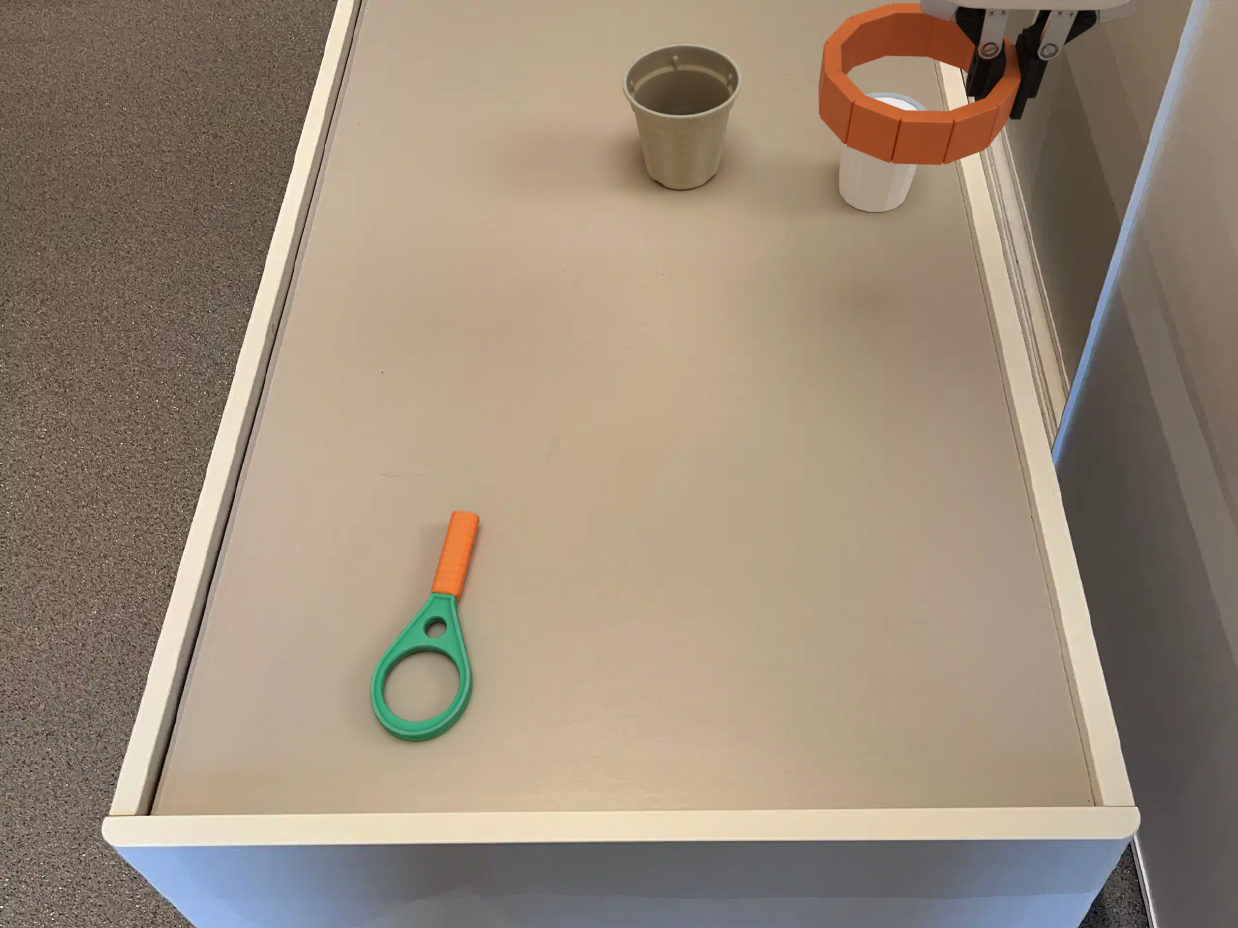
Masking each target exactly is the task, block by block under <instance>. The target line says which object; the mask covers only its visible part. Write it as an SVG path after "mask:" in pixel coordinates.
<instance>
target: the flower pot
mask: <svg viewBox="0 0 1238 928" xmlns="http://www.w3.org/2000/svg"><path fill="white" fill-rule="evenodd" d="M621 80H622V81H621V85H622V91H623V93H624V96H625V98H626V100H627V101H628V102H629V105H630V107H631V110H632V112H633V113H634V115H635V120H636V125H637V129H638V135H639V139H640V143H641V148H642V152H643V153H642V154H643V158H644V164H645V169H646V172H647V174H648V176H649V177H650V179H652V180H653V181H657V182H658V183H660V184H661V185H663V186H664V187H665V188H669V189H673V190H689V189H694V188H698V187H700V186H703V185H705V183H706V182H708V181H709V180H710V179H711V178H712V177H714V176H715V175H716V174H717V173H718V171H719V167H720V161H721V157H722V156H721V155H722V151H723V146H724V141H725V135H726V132H727V126H728V122H729V118H730V117H729V116H730V111H731V110H732V108H733V106H734V104H735V100H736V99H737V97H738V96H739V94H740V93H741V90H742V86H743V74H742V72H741V69H740V67H739V65H738V64H737V62H736V61H735V60H734V58H732V57H731V56H729V55H728V54H726V53H725V52H723V51H721V50H719V49H718V48H714V47H712V46H709V45H706V44H705V45H704V44H700V43H693V42H692V43H691V42H681V43H680V42H679V43H677V42H675V43H670V44H665V45H661V46H657V47H655V48H651V49H649V50H647V51H645V52H643V53H641V54H640V55H638V56H636V58H634V59H633V60H632V61H631V62H630V63H629V64H628V65H627V67H626V68H625V71H624V72H623V74H622V79H621Z"/></svg>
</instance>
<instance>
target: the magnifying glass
mask: <svg viewBox="0 0 1238 928" xmlns="http://www.w3.org/2000/svg"><path fill="white" fill-rule="evenodd" d="M480 519H481V518H480V516H479V514H477V513H475V512H473V511H466V510H453V511H452V513H451V516H450V518H449V522H448V525H447V530H446V534H445V537H444V541H443V545H442V549H441V553H440V556H439V560H438V563H437V568H436V571H435V575H434V578H433V581H432V585H431V589H430V595H429V597H428V599H427V600H426V602H425V603H424V605H423V606H421V608H420V609H419V611H418V612H417V613H416V614H415V616H414V617H413V618H412V619H411V620H410V622H409V623H408V624H406V626H405V628H404V629H402V631H401V632H400V633H399V634H398V636H397V637H396V638H395V639H394V640H393V642H391V644H390V645H389V646H388V647H387V648H386V650H385V651H384V652H383V654H382V655H381V657H380V658H379V660H378V661H377V663H376V665H375V666H374V667H375V668H374V669H373V672H372V676H371V678H370V679H371V680H370V687H369V691H370V692H369V694H370V701H371V706H372V709H373V712H374V714H375V717H376V718H377V720H378V722H379V724H380V726H381V727H383V728H384V729H385V730H386V731H387V732H388V733H389V734H390V735H391V736H393V737H396V738H398V739H400V740H403V741H407V742H425V741H428V740H431V739H434V738H437V737H439V736H440V735H442V734H444V733H445V732H447V731H449V729H451V728H452V727H453V726H454V725H455V724H456V722H457V721H458V720H459V719H460V718H461V716H463V714H464V712H465V710H466V709H467V706H468V704H469V702H470V698H471V695H472V691H473V690H472V689H473V672H472V667H471V663H470V660H469V655H468V651H467V647H466V643H465V638H464V634H463V631H462V626H461V622H460V618H459V615H458V613H459V612H458V602H459V600H460V598H461V595H462V591H463V587H464V585H465V584H464V583H465V579H466V576H467V572H468V568H469V564H470V560H471V555H472V552H473V548H474V544H475V540H476V537H477V533H478V528H479V524H480ZM436 622H437V623H438V622H441V623H444V624H445V627H446V628H445V631H444V633H443V634H442V635H441V636H438V637H429V636H428V634H427V630H428V628H429V626H431V624H434V623H436ZM421 651H435V652H438V653H441V654H443V655H445V656H447V658H449V659H450V660H451V661H452V662H453V663H454V665H455V666H456V668H457V670H458V673H459V674H458V675H459V685H458V690H457V694H456V695H455V697H454V699H453V700H452V702H451V703H450V705H449V706H448V707H447V708H446V709H445V710H444V711H442V712H441V713H440V714H438V715H437V716H434V717H432V718H429V719H425V720H420V721H415V720H414V721H413V720H407V719H404V718H402V717H399V716H397V715H396V714H394V712H392V711H391V710H390V707H388V706H387V704H386V701H385V695H384V690H385V689H384V687H385V683H386V680H387V677H388V675H389V673H390V672H391V671H392V669H393V667H395V665H396V664H397V663H398V662H399V661H400V660H402V659H403V658H405V657H407V656H408V655H410V654H413V653H416V652H421Z"/></svg>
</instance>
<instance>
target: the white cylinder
mask: <svg viewBox="0 0 1238 928" xmlns="http://www.w3.org/2000/svg"><path fill="white" fill-rule="evenodd" d="M865 95H866V96H869V97H871V98H874V99H877V100H879V101H882V102H885V103H887V104H890V105H892V106H895V107H898V108H900V109H903V110H918V111H928V109H926V107H925V106H924V105H923V104H922V102H919V101H917V100H916V99H913V98H912V97H910V96H908V95H904V94H900V93H896V92H892V91H889V92H888V91H887V92H883V91H882V92H879V91H878V92H871V93H867V94H865ZM839 149H840V150H839V171H838V172H839V174H838V175H839V176H838V190H839V195H840V197H842V199H843V200H844V201H845V203H847V204H848V205H849V206H851V207H853V208H855V210H860V211H863V212H866V213H867V212H868V213H884V212H888V211H891V210H895V209H897V208H898V207H899V206H901V205H902V204H903V203H904V202H905V201H906V198H907V196H908V193H909V191H910V188H911V186H912V182H913V180H914V177H915V174H916V171H917V169H918V166H919V164H893V163H892V161H891V162H890V163H888V162H885V161H883V160H880V159H878V158H875V157H873V156H870V155H868V154H865V153H863V152H860V151H858V150H855V149H853V148H850V147H848V146H847V144H843V143H842V141H841V140H840V148H839Z"/></svg>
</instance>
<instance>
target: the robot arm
mask: <svg viewBox="0 0 1238 928" xmlns="http://www.w3.org/2000/svg"><path fill="white" fill-rule="evenodd" d="M919 4H920V8H921V11H922V12H923V13H924V14H927V15H930V16H933V17H936V18H939V19H942V20H945V21H948V22H949V21H952V22H955V23H957V25H958V27H959V28H960V29H961V30H962V31H963V32H964V34H965V35H966V36H967V37H968V38H969V39H970V40H971V42H972V43H973V44H974V45H975V49H974V52H973V56H972V60H971V63H970V67H969V71H968V74H967V73H966V78H965V93H966V94H965V95H966V97H968V98H973V100H974V101H973V102H976V101H979V100H981V99H984V98H986V97H987V96H988V94H989V93H990V92H991V90H992V89H993V88H994V87H995V85H996V84H997V83H998V82H999V80H1000V79H1001V78H1002V77H1003V75H1004V72H1005V68H1006V63H1007V60H1006V55H1005V49H1004V47H1005V41H1004V36H1005V33H1006V30H1007V29H1006V28H1007V24H1008V19H1009V14H1010V10H1018V11H1019V10H1022V11H1023V10H1027V11H1028V10H1029V11H1030V10H1032V11H1035V13H1034V15H1033V17H1032V19H1031V20H1032V21H1031V25H1030V26H1029V27H1027V28H1026V27H1025V28H1024V27H1023V28H1022V30H1021V33H1018V35H1017V38H1016V41H1015V44H1014V45H1015V48H1016V53H1017V58H1018V64H1019V69H1020V74H1021V78H1020V79H1021V81H1020V84H1019V87H1018V90H1017V93H1016V97H1015V100H1014V103H1013V106H1012V109H1011V112H1010V115H1009V119H1010V120H1015V121H1020V120H1022V116H1023V114H1024V110H1025V108H1026V105H1027V102H1028V99H1036V97H1037V95H1038V92H1039V89H1040V87H1041V84H1042V81H1043V78H1044V75H1045V72H1046V70H1047V66H1048V63H1049V61H1051V60H1054V59H1056V58H1057V57H1058V56H1059V55H1060V54H1061V51H1062V49H1063V47H1064V46H1065V45H1067V44H1068V43H1070V42H1072V41H1073V40H1075V39H1076V38H1077V37H1079V36H1081V35H1082V34H1084V33H1085V32H1087V31H1088V30H1090V29H1091V28H1093V27H1094V26H1095V25H1096V24H1099V25H1102V24H1107V23H1110V22H1115V21H1119V20H1123V19H1124V20H1125V19H1127V18H1131V17H1133V16H1135V14H1137V12H1138V11H1139V9H1140V0H919Z"/></svg>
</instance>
